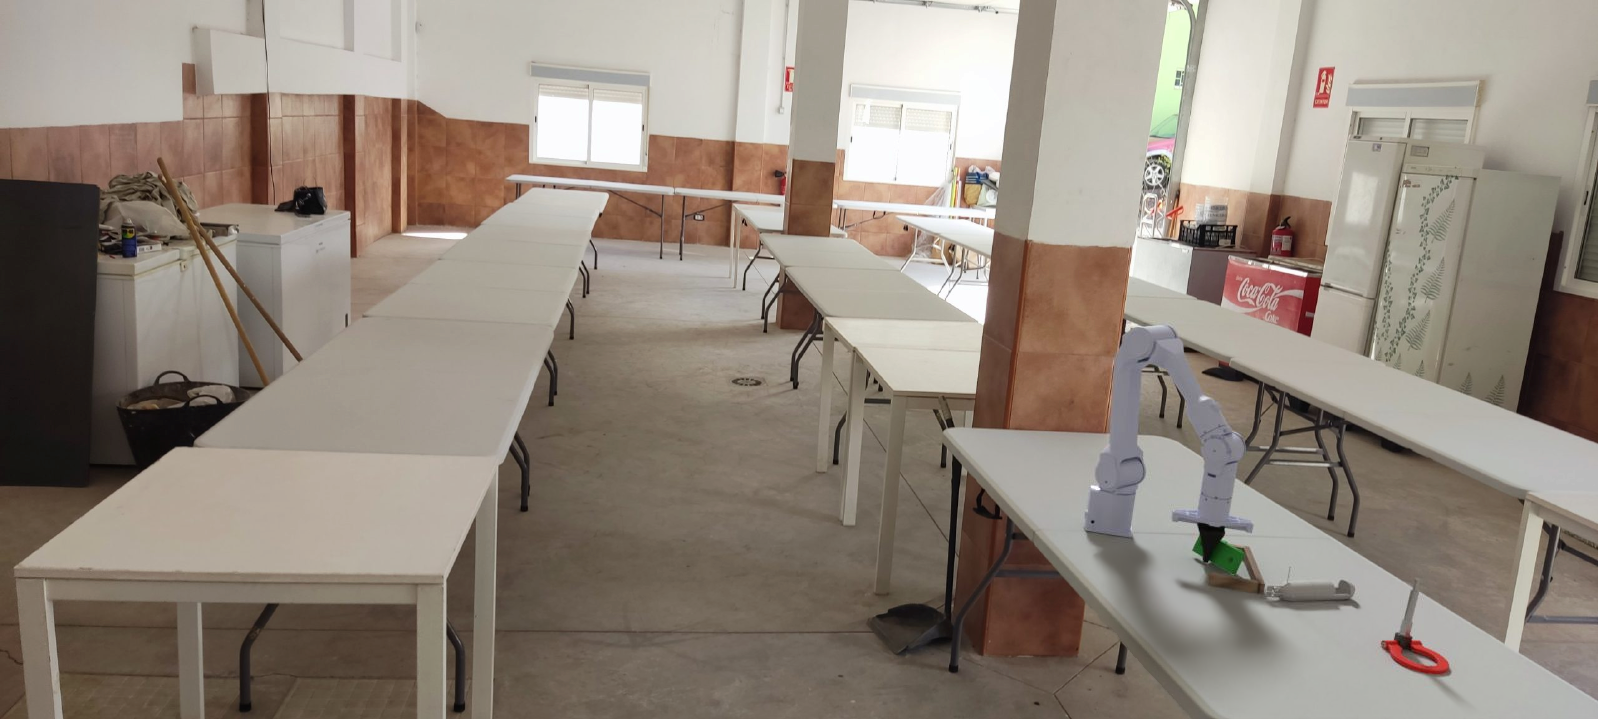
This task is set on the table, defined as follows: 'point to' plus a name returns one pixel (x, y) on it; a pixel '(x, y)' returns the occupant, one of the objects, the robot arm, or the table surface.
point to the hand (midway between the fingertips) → (1205, 560)
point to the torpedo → (1311, 590)
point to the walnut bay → (1241, 584)
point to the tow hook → (1413, 641)
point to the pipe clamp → (1223, 555)
